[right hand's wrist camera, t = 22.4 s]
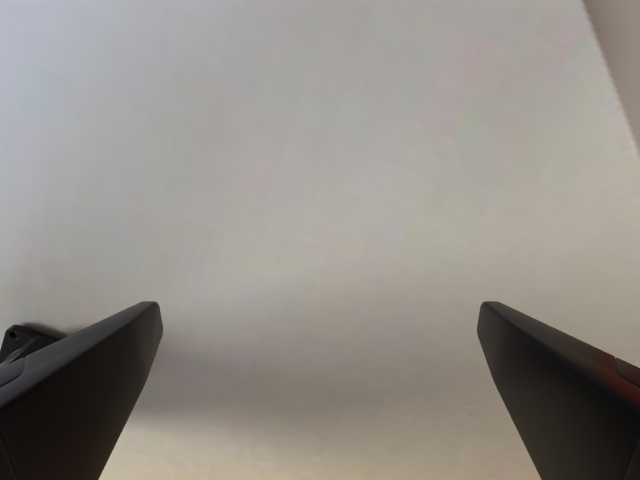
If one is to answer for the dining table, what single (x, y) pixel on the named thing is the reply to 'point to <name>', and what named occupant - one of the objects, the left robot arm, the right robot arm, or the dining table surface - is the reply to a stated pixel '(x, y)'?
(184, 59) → the dining table surface
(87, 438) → the right robot arm
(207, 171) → the dining table surface
